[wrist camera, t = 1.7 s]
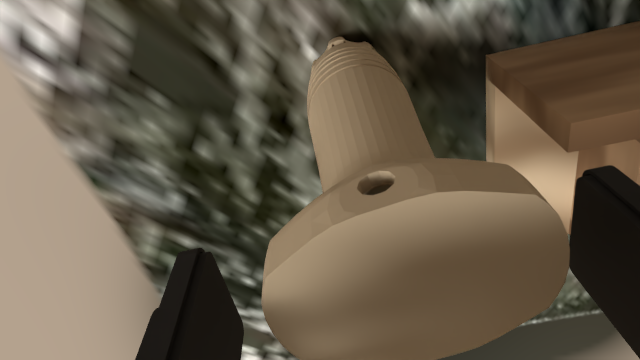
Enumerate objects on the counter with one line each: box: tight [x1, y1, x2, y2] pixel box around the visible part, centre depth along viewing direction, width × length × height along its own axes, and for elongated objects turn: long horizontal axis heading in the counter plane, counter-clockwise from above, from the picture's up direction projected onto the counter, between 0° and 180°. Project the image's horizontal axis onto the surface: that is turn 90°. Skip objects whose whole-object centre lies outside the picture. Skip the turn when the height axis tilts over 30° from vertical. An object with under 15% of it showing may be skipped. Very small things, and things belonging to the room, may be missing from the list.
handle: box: [262, 37, 570, 360], centre depth 16 cm, size 5×6×15 cm
